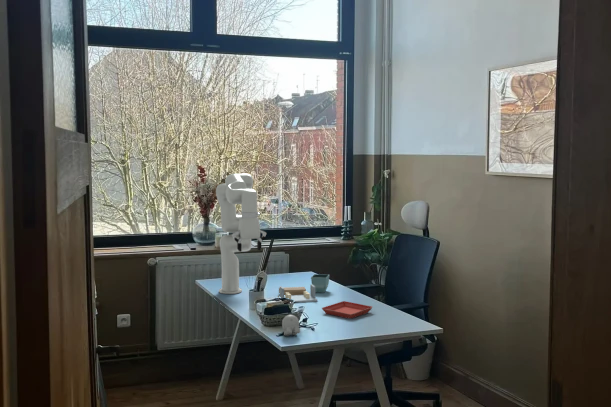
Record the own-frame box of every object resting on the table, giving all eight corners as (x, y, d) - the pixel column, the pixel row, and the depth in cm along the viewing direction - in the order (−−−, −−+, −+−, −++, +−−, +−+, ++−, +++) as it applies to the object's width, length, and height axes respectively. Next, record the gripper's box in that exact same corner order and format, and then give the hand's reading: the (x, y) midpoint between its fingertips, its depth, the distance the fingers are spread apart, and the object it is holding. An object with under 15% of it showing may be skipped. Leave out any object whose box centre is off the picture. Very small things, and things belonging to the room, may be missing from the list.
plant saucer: (350, 320, 296) (350, 313, 296) (320, 314, 308) (320, 307, 307) (373, 313, 310) (373, 306, 309) (343, 307, 321) (343, 300, 321)
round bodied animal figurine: (294, 336, 279) (292, 317, 281) (302, 333, 268) (300, 313, 270) (278, 338, 277) (276, 318, 279) (285, 334, 266) (283, 314, 268)
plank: (278, 294, 349) (278, 287, 348) (304, 294, 351) (304, 286, 350) (280, 297, 343) (280, 290, 342) (305, 296, 345) (305, 289, 344)
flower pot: (310, 293, 352) (310, 276, 351) (314, 289, 360) (314, 273, 360) (326, 293, 350) (326, 277, 349) (329, 290, 358) (329, 274, 358)
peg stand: (278, 297, 340) (277, 284, 339) (310, 295, 345) (310, 283, 344) (283, 303, 327) (283, 290, 327) (317, 301, 332) (317, 288, 332)
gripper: (263, 214, 317) (263, 248, 319) (229, 215, 311) (230, 250, 312) (268, 215, 311) (268, 250, 312) (234, 217, 304) (234, 252, 306)
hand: (249, 250), depth 312 cm, fingers open, 9 cm apart
